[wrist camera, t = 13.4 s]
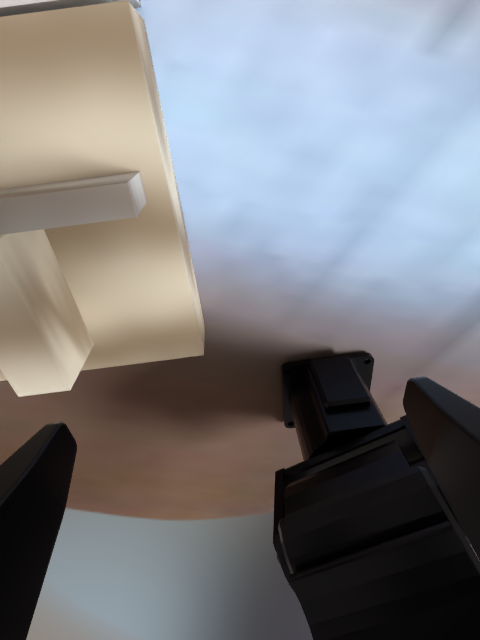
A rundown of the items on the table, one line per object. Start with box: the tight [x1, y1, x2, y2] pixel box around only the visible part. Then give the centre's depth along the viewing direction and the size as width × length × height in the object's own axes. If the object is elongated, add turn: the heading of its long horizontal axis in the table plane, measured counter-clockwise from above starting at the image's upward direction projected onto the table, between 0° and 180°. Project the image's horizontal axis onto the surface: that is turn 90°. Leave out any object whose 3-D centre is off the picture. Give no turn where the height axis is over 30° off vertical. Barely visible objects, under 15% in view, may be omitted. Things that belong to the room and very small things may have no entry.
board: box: [0, 0, 205, 381], centre depth 16 cm, size 15×14×3 cm
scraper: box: [0, 171, 148, 397], centre depth 14 cm, size 8×12×4 cm
